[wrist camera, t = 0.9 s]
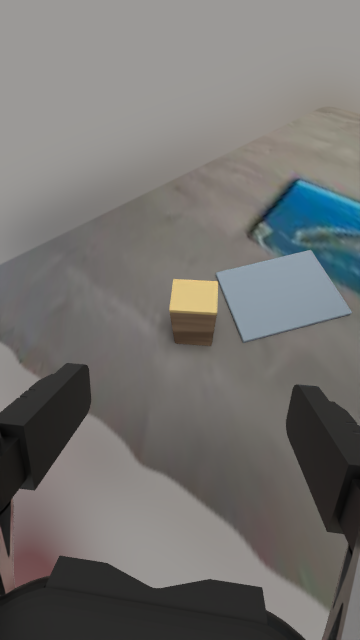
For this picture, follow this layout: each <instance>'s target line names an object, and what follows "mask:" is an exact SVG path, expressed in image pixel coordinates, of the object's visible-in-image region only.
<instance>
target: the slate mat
mask: <svg viewBox="0 0 360 640" xmlns="http://www.w3.org/2000/svg"><path fill="white" fill-rule="evenodd" d="M216 277H217V280H218V282H219V285H220V287H221V289H222V292H223V294H224V297H225V299H226V302H227V304H228V307H229V309H230V312H231V314H232V317H233V319H234V322H235V324H236V326H237V329H238V331H239V334H240V336H241V339H242V341H243V343H245V342H248V341H252V340H256V339H260V338H264V337H267V336H271V335H275V334H279V333H282V332H286V331H290V330H294V329H298V328H301V327H305V326H309V325H313V324H316V323H320V322H324V321H328V320H332V319H335V318H339V317H343V316H347V315H350V314H351V313H352V311H351V310H350V308H349V307H348V305H347V304H346V302H345V301H344V299H343V298H342V296H341V295H340V293H339V292H338V290H337V289H336V287H335V286H334V284H333V283H332V281H331V280H330V278H329V277H328V275H327V274H326V272H325V271H324V269H323V268H322V266H321V265H320V263H319V262H318V260H317V259H316V257H315V256H314V254H313V252H312V251H311V250H308V251H304V252H300V253H296V254H292V255H287V256H283V257H279V258H275V259H271V260H267V261H263V262H258V263H254V264H250V265H246V266H242V267H238V268H233V269H229V270H225V271H221V272H217V273H216Z"/></svg>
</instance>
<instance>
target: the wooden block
mask: <svg viewBox="0 0 360 640" xmlns="http://www.w3.org/2000/svg"><path fill="white" fill-rule="evenodd" d="M217 297H218V281H200V280H180V279H173V286H172V294H171V302H170V316H171V322H172V328H173V334H174V340H175V343H177V344H191V345H205V346H211V344H212V339H213V333H214V327H215V321H216V316H217Z"/></svg>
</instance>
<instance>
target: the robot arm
mask: <svg viewBox="0 0 360 640" xmlns="http://www.w3.org/2000/svg"><path fill="white" fill-rule="evenodd" d="M90 404H91V391H90V377H89V368H88V366H87V365H84V364H73V363H67V364H65V365H64V366H63V367H62V368H60V369H59V370H58V371H57V372H56V373H55V374H51V375H49V376H47V377H45V378H43V379H41V380H39V381H37V382H36V383H35V384H34V385H33V386H31V387H30V388H29V390H28V391H25V392H24V393H23V394H22V395H21V396H20V398H17V399H16V400H15V401H14V402H13V403H11V404H10V405H9V406H7V407H6V408H5V409H4V410H3V411H1V412H0V640H305V639H304V638H303V637H302V636H301V635H300V634H299V633H298V632H297V631H295V630H294V629H293V628H292V627H291V626H290V625H289V624H287V623H286V622H284V621H283V620H282V619H280V618H279V617H277V616H276V615H274V614H272V613H271V612H269V611H267V610H266V609H265V603H264V596H263V590H262V587H256V586H250V585H243V584H237V583H231V582H224V581H218V580H211V579H208V580H203V581H197V582H192V583H187V584H182V585H176V586H170V587H165V588H152V587H150V586H148V585H146V584H144V583H142V582H141V581H139V580H137V579H135V578H133V577H131V576H129V575H128V574H126V573H124V572H122V571H120V570H119V569H117V568H115V567H113V566H111V565H109V564H108V563H103V562H97V561H90V560H84V559H78V558H71V557H65V556H59V558H58V560H57V562H56V564H55V566H54V569H53V571H52V573H51V575H50V576H46V577H43V578H39V579H36V580H33V581H30V582H28V583H26V584H23V585H21V586H19V587H17V588H15V582H14V569H13V546H14V543H13V540H14V538H13V537H14V502H13V496H14V495H15V494H16V492H17V491H18V490H19V488H20V489H27V490H35V489H36V488H37V486H38V485H39V484H40V482H41V481H42V479H43V478H44V476H45V475H46V473H47V472H48V470H49V469H50V467H51V466H52V464H53V463H54V462H55V460H56V459H57V457H58V456H59V454H60V453H61V451H62V450H63V449H64V447H65V446H66V444H67V443H68V441H69V440H70V438H71V437H72V435H73V434H74V433H75V431H76V430H77V428H78V427H79V425H80V424H81V422H82V421H83V419H84V418H85V417H86V415H87V413H88V411H89V408H90ZM286 430H287V435H288V438H289V441H290V443H291V446H292V448H293V450H294V453H295V455H296V458H297V460H298V463H299V465H300V467H301V470H302V472H303V475H304V477H305V479H306V482H307V484H308V487H309V489H310V492H311V494H312V496H313V499H314V501H315V504H316V506H317V509H318V511H319V513H320V516H321V518H322V521H323V523H324V525H325V528H326V530H327V532H332V533H340V534H344V535H345V537H346V539H347V541H348V543H349V544H348V546H347V549H346V552H345V556H344V560H343V564H342V567H341V571H340V575H339V579H338V583H337V587H336V590H335V594H334V598H333V602H332V606H331V610H330V613H329V617H328V621H327V624H326V628H325V631H324V634H323V637H322V640H360V426H359V425H357V423H356V421H355V420H354V419H353V418H352V417H351V415H350V414H349V413H348V412H347V411H346V410H345V409H343V408H342V407H340V406H339V405H338V404H336V403H335V402H331V401H329V400H328V399H327V397H326V396H325V395H324V393H323V392H322V391H321V389H320V388H319V387H317V386H307V385H295V386H294V387H293V391H292V395H291V400H290V405H289V410H288V414H287V419H286Z"/></svg>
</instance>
